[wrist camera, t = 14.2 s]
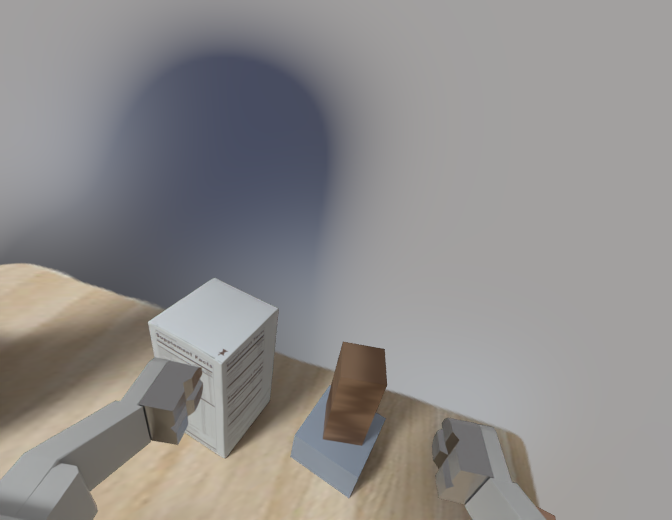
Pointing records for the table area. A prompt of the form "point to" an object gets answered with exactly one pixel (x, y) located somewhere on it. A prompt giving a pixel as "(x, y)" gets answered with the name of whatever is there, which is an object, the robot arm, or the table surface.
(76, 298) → the table surface
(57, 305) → the table surface
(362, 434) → the walnut post
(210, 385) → the supplement box
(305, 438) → the slate block
